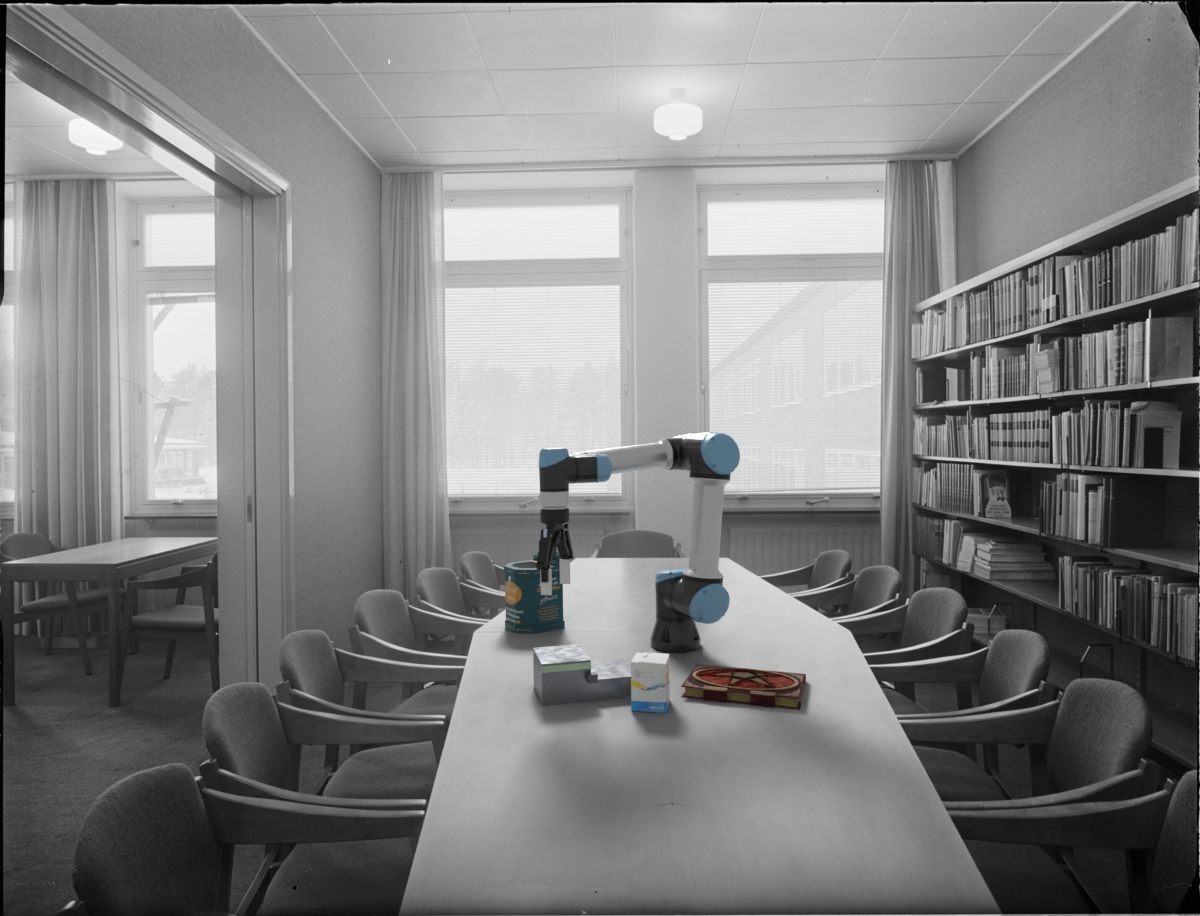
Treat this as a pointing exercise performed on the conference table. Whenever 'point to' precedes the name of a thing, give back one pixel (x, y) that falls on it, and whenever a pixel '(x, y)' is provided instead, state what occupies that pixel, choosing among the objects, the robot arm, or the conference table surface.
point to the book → (745, 686)
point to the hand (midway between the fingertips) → (556, 589)
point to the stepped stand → (577, 676)
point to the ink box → (650, 682)
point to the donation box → (532, 597)
